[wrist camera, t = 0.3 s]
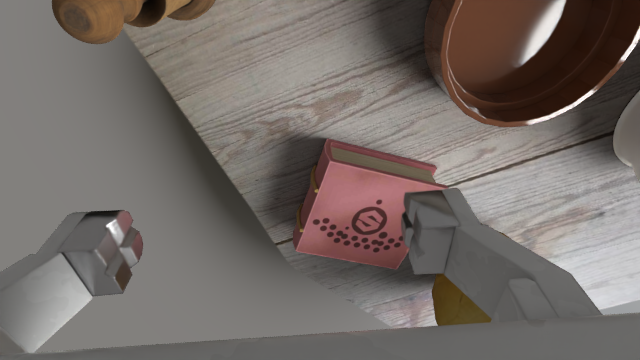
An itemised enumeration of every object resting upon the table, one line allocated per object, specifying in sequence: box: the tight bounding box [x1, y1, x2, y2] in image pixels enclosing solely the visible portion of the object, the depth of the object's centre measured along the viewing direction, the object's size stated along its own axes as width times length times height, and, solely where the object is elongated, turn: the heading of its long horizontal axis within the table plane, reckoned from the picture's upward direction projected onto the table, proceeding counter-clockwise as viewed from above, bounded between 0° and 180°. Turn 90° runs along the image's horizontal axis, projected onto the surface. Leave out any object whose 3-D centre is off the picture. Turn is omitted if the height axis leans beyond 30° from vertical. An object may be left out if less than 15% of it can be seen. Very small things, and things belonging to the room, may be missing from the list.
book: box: [293, 138, 448, 269], centre depth 45 cm, size 14×15×5 cm
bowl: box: [424, 0, 640, 127], centre depth 32 cm, size 17×17×6 cm
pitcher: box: [432, 232, 511, 326], centre depth 46 cm, size 17×19×25 cm
